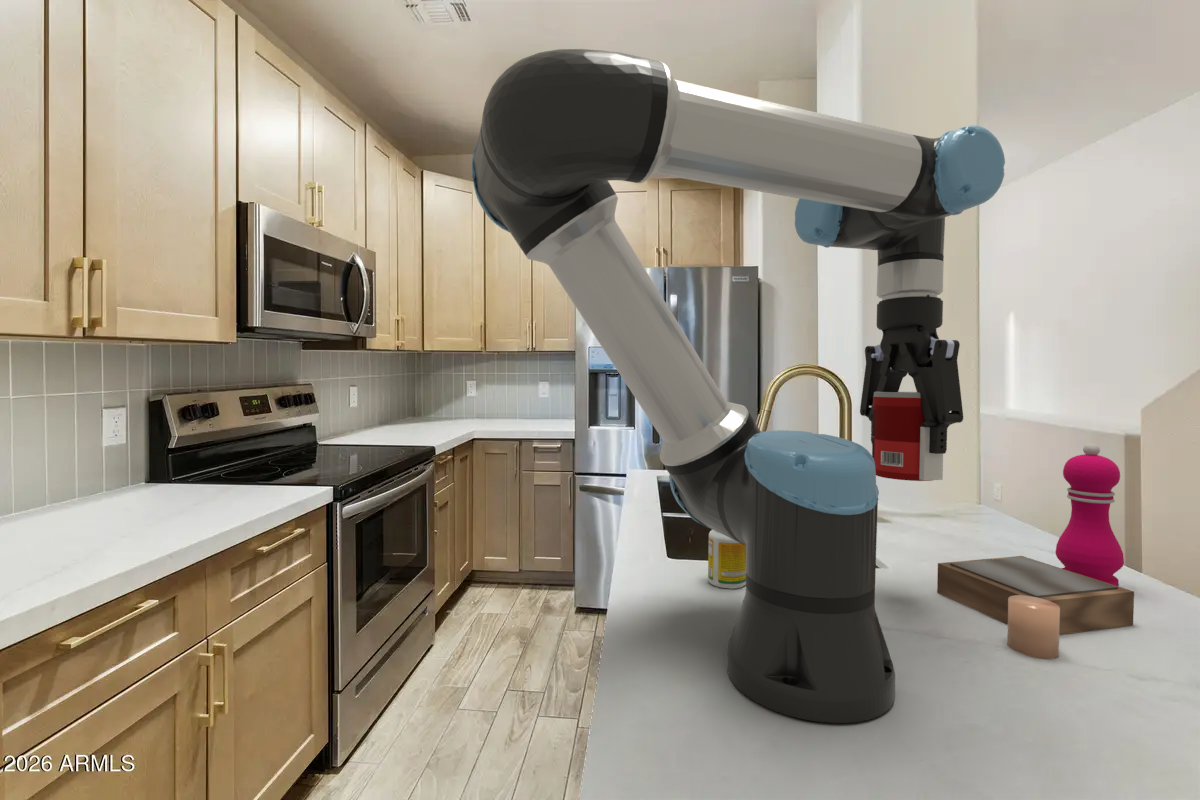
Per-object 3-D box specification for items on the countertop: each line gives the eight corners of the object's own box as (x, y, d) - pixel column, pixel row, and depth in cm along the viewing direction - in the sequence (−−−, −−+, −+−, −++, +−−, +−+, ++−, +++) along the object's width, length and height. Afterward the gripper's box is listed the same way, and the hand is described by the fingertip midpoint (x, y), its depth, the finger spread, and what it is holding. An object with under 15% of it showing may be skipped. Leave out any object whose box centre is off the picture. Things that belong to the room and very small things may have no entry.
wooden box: (1037, 637, 64) (1037, 599, 64) (937, 592, 78) (937, 561, 78) (1133, 625, 67) (1134, 589, 67) (1021, 583, 81) (1021, 554, 81)
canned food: (950, 482, 70) (953, 392, 70) (880, 479, 72) (882, 392, 71) (928, 472, 78) (930, 391, 77) (865, 470, 79) (866, 391, 79)
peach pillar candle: (1035, 661, 59) (1036, 613, 59) (997, 641, 63) (998, 597, 63) (1069, 656, 60) (1070, 609, 60) (1029, 637, 64) (1030, 593, 64)
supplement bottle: (700, 581, 82) (700, 515, 82) (724, 573, 85) (724, 510, 85) (730, 592, 78) (731, 522, 78) (754, 583, 81) (755, 516, 81)
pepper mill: (1126, 600, 75) (1130, 447, 74) (1055, 588, 79) (1058, 444, 78) (1119, 584, 80) (1123, 442, 80) (1054, 574, 85) (1057, 439, 84)
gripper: (1005, 287, 65) (1000, 487, 66) (878, 309, 85) (875, 462, 86) (950, 284, 63) (945, 489, 64) (834, 307, 83) (831, 463, 84)
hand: (905, 473), depth 75 cm, fingers closed on canned food, 8 cm apart
